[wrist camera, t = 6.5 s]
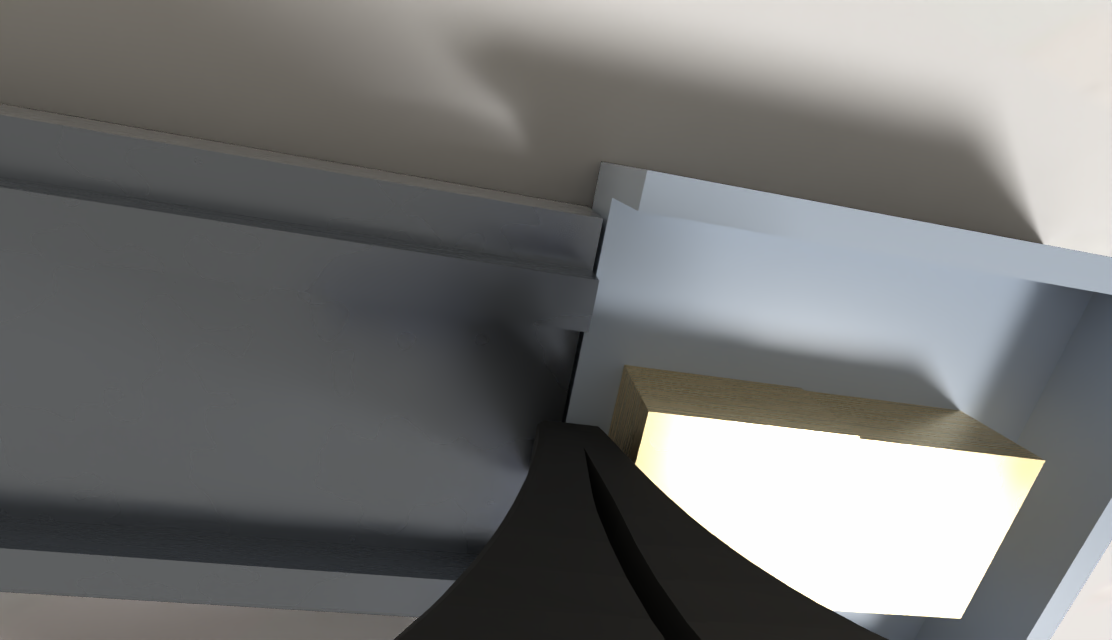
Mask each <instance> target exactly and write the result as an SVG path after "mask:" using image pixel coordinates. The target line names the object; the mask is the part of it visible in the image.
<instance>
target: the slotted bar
mask: <svg viewBox="0 0 1112 640" xmlns="http://www.w3.org/2000/svg"><path fill="white" fill-rule="evenodd" d="M602 222H603V218H602V217H600V216H599V215H598V214H597V213H595V212H594V211H593V210H592V209H590V208H589V207H587V206H581V205H576V204H570V203H564V202H559V201H553V200H547V199H542V198H536V197H530V196H524V195H519V194H513V193H507V192H502V191H496V190H490V189H484V188H479V187H473V186H467V185H462V184H456V183H450V182H445V181H439V180H433V179H427V178H422V177H416V176H410V175H405V174H399V173H393V172H387V171H382V170H376V169H370V168H365V167H359V166H353V165H348V164H342V163H336V162H330V161H325V160H319V159H313V158H308V157H302V156H296V155H290V154H285V153H279V152H273V151H268V150H262V149H256V148H250V147H245V146H239V145H233V144H228V143H222V142H216V141H211V140H205V139H199V138H193V137H188V136H182V135H176V134H171V133H165V132H159V131H153V130H148V129H142V128H136V127H131V126H125V125H119V124H114V123H108V122H102V121H96V120H91V119H85V118H79V117H74V116H68V115H62V114H56V113H51V112H45V111H39V110H34V109H28V108H22V107H17V106H11V105H5V104H0V592H13V593H29V594H46V595H62V596H79V597H95V598H111V599H128V600H144V601H161V602H177V603H193V604H210V605H226V606H242V607H259V608H275V609H292V610H308V611H324V612H341V613H357V614H374V615H390V616H406V617H420V616H421V615H422V614H423V613H424V612H425V611H427V610H428V609H429V608H430V607H431V606H432V605H433V604H434V603H435V602H436V601H437V600H438V599H439V598H440V597H441V596H442V595H443V594H444V593H445V592H446V591H447V590H448V589H449V587H450V586H451V585H452V584H453V583H454V582H455V581H456V580H457V579H458V578H459V577H460V575H461V574H462V573H463V572H464V571H465V570H466V569H467V568H468V567H469V566H470V564H471V563H472V562H473V561H474V560H475V558H476V557H477V556H478V555H479V553H480V552H481V551H482V549H483V548H484V547H485V545H486V544H487V543H488V541H489V540H490V538H491V537H492V536H493V534H494V533H495V532H496V530H497V529H498V527H499V526H500V524H501V523H502V521H503V519H504V518H505V516H506V515H507V513H508V511H509V510H510V508H511V506H512V504H513V503H514V501H515V499H516V497H517V495H518V493H519V491H520V489H521V487H522V485H523V483H524V481H525V479H526V477H527V474H528V471H529V466H530V461H531V455H532V450H533V444H534V439H535V434H536V428H537V424H539V423H540V422H542V421H543V420H547V421H556V422H562V418H563V413H564V408H565V403H566V398H567V393H568V388H569V384H570V379H571V374H572V369H573V364H574V359H575V354H576V349H577V344H578V340H579V335H580V331H582V332H589V328H590V323H591V319H592V314H593V309H594V304H595V300H596V295H597V290H598V285H599V279H598V277H597V276H596V274H595V273H594V271H593V266H594V261H595V256H596V252H597V247H598V242H599V237H600V232H601V227H602Z"/></svg>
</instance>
